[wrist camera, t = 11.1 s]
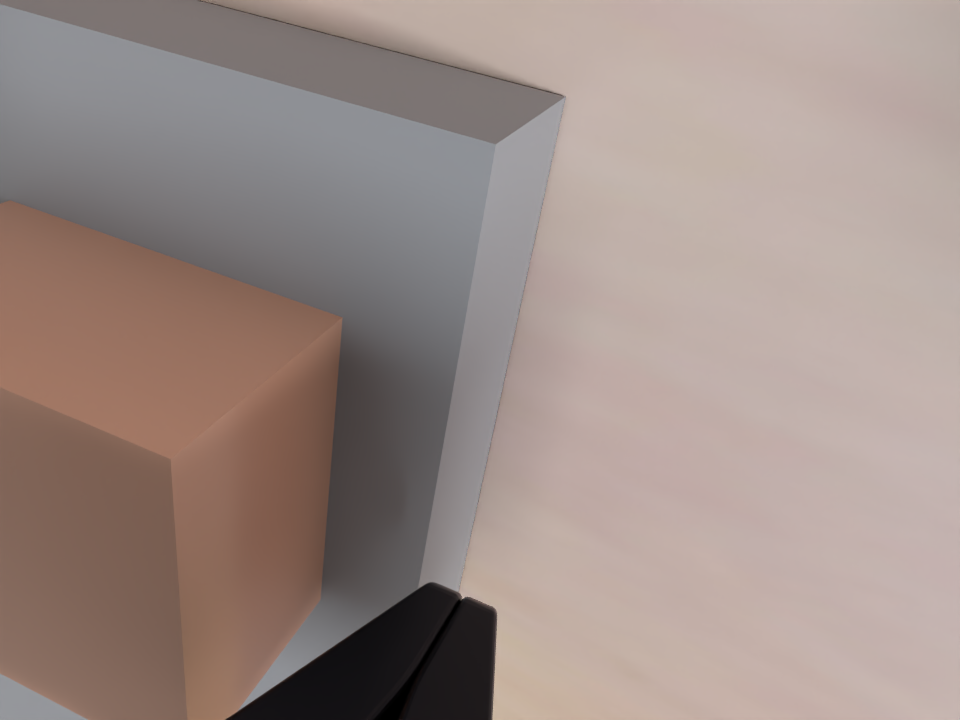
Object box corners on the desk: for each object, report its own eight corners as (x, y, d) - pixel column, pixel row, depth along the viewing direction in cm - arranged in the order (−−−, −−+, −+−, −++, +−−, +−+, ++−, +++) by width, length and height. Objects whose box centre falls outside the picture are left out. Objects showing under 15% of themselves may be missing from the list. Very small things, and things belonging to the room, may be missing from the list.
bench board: (405, 838, 19) (355, 946, 17) (47, 655, 22) (-34, 731, 20) (565, 96, 10) (495, 144, 8) (-109, -81, 12) (-296, -80, 10)
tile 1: (320, 599, 12) (191, 774, 10) (57, 482, 13) (-119, 610, 11) (343, 317, 9) (171, 459, 7) (10, 199, 10) (-239, 286, 8)
